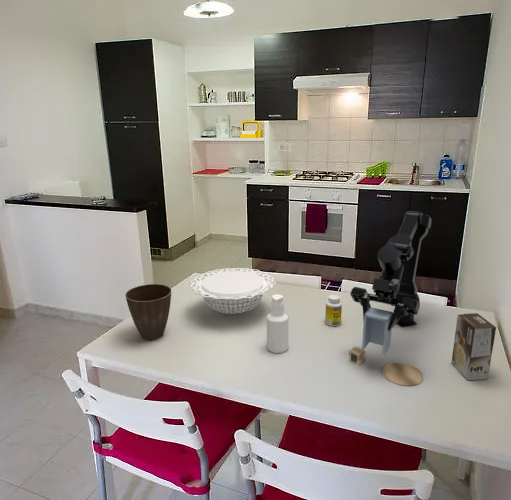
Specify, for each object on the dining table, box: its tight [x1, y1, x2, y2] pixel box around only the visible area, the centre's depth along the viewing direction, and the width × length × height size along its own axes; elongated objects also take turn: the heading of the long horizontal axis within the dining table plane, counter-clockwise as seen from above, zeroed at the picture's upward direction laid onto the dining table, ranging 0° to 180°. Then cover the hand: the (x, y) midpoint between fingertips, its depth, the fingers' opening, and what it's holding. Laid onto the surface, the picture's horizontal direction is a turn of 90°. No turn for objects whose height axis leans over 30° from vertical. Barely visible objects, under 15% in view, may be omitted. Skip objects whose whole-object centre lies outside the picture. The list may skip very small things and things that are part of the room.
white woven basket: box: [189, 267, 277, 315], centre depth 158 cm, size 32×32×13 cm
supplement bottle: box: [324, 294, 343, 327], centre depth 149 cm, size 6×6×10 cm
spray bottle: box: [266, 293, 289, 354], centre depth 132 cm, size 7×7×18 cm
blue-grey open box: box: [361, 306, 394, 356], centre depth 120 cm, size 6×6×11 cm
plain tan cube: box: [348, 346, 366, 366], centre depth 127 cm, size 4×4×4 cm
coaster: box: [381, 362, 424, 387], centre depth 120 cm, size 11×11×1 cm
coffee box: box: [451, 312, 497, 381], centre depth 119 cm, size 9×6×16 cm
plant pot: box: [124, 283, 172, 341], centre depth 142 cm, size 15×15×16 cm
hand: (376, 327), depth 118 cm, fingers closed on blue-grey open box, 6 cm apart
